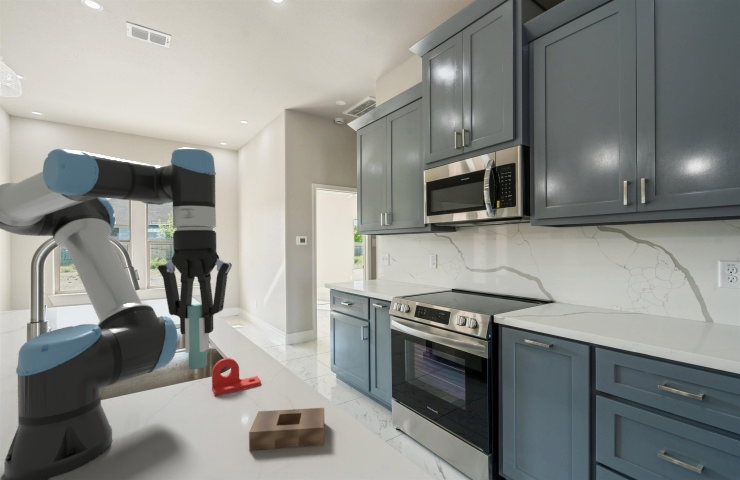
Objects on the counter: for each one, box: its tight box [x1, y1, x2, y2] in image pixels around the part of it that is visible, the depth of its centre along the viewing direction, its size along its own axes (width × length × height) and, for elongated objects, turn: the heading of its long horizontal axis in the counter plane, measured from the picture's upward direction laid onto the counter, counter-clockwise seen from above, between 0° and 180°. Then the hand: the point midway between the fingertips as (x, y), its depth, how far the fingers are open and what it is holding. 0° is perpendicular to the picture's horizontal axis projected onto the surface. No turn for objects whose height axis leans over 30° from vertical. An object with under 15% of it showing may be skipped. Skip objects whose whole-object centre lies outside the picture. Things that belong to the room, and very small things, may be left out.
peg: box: [187, 303, 208, 370], centre depth 68 cm, size 3×3×12 cm
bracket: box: [211, 357, 262, 397], centre depth 94 cm, size 12×4×8 cm, turn 123°
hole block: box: [248, 407, 325, 451], centre depth 71 cm, size 14×8×4 cm, turn 96°
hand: (197, 349), depth 68 cm, fingers closed on peg, 2 cm apart
